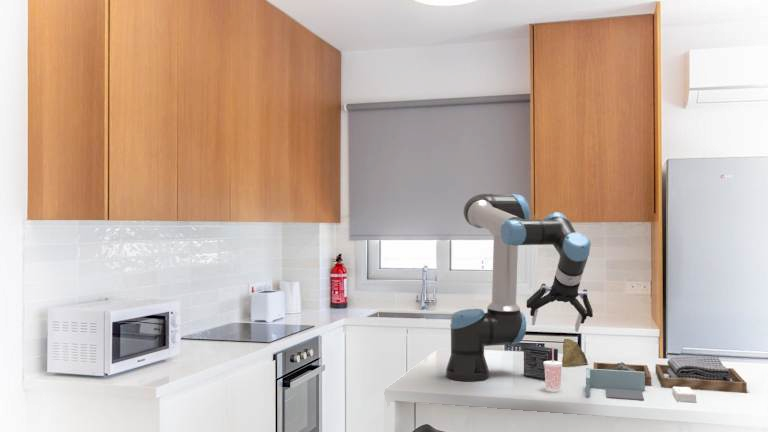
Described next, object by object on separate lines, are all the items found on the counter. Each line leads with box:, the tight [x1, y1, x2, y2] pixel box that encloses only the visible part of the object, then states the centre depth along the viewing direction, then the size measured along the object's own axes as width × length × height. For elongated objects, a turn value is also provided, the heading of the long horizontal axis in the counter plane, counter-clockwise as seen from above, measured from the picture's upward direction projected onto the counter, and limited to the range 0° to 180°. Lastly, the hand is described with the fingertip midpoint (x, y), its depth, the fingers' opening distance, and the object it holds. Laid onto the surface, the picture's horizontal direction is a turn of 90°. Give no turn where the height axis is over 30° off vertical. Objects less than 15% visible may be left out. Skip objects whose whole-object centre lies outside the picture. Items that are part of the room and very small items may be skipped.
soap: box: [671, 386, 697, 403], centre depth 215 cm, size 9×6×3 cm, turn 167°
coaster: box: [605, 388, 645, 401], centre depth 219 cm, size 11×11×1 cm
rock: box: [561, 338, 589, 368], centre depth 263 cm, size 11×9×10 cm
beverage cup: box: [543, 346, 563, 393], centre depth 225 cm, size 6×6×14 cm
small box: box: [523, 345, 559, 381], centre depth 243 cm, size 11×6×10 cm, turn 47°
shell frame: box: [593, 361, 652, 387], centre depth 242 cm, size 18×18×3 cm
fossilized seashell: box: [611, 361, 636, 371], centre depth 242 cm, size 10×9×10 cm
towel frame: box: [655, 363, 748, 394], centre depth 236 cm, size 25×22×3 cm
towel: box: [667, 356, 733, 382], centre depth 236 cm, size 15×18×8 cm
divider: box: [585, 368, 646, 398], centre depth 221 cm, size 18×14×6 cm
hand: (554, 325), depth 220 cm, fingers open, 13 cm apart
